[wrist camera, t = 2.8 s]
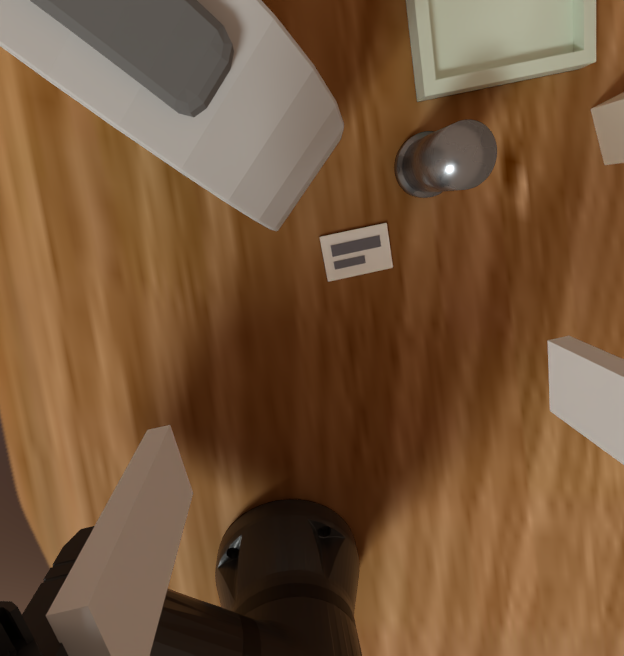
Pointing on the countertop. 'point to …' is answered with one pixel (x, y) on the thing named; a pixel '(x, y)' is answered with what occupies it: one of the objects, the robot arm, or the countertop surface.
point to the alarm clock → (191, 89)
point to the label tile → (356, 252)
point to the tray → (496, 42)
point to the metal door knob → (446, 159)
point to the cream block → (610, 129)
